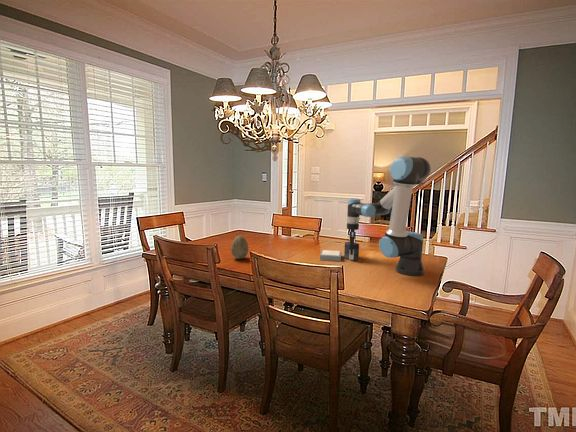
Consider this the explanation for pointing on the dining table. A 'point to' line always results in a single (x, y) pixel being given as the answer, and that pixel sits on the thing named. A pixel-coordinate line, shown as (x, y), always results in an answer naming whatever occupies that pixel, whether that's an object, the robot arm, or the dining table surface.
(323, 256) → the plinth
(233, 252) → the decorative egg
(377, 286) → the dining table surface
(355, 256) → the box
